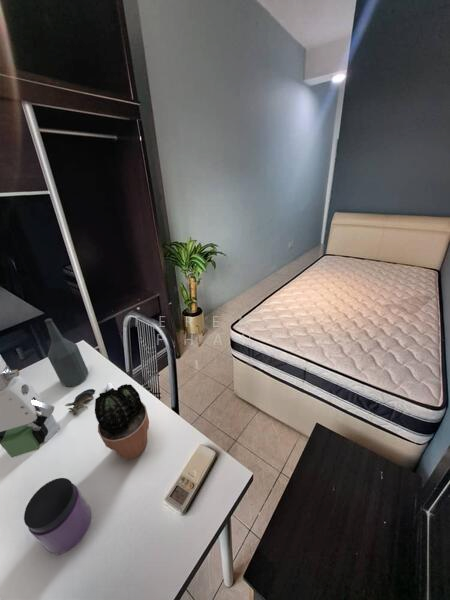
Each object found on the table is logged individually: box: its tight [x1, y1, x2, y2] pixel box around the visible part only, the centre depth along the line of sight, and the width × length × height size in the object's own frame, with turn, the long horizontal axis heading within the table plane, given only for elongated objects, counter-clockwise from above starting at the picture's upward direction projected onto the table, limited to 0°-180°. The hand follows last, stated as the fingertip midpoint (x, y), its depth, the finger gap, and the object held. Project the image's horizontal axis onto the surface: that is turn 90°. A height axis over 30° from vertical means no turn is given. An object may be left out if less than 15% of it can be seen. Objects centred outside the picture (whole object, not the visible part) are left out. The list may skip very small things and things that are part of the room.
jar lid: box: [23, 477, 77, 533], centre depth 55 cm, size 10×9×2 cm
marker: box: [106, 382, 116, 391], centre depth 94 cm, size 18×2×2 cm, turn 40°
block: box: [0, 420, 41, 458], centre depth 53 cm, size 5×5×5 cm
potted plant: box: [94, 383, 150, 460], centre depth 72 cm, size 14×14×25 cm
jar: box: [27, 482, 92, 555], centre depth 58 cm, size 10×10×12 cm
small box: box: [36, 411, 61, 444], centre depth 81 cm, size 8×6×10 cm
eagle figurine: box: [64, 388, 96, 416], centre depth 91 cm, size 8×7×9 cm
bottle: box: [44, 317, 89, 388], centre depth 98 cm, size 10×10×30 cm
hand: (28, 441), depth 54 cm, fingers closed on block, 5 cm apart
